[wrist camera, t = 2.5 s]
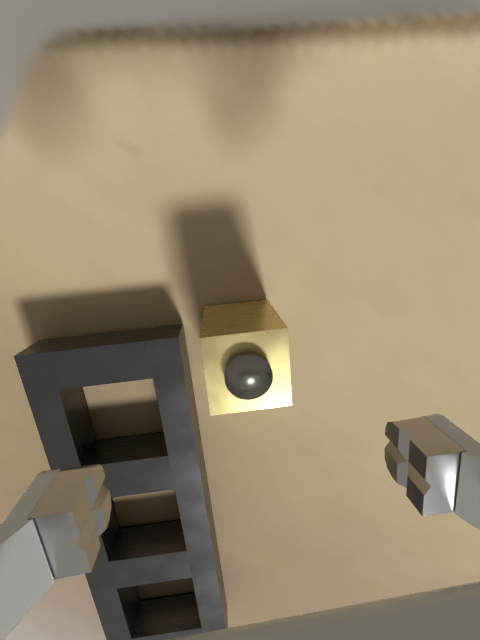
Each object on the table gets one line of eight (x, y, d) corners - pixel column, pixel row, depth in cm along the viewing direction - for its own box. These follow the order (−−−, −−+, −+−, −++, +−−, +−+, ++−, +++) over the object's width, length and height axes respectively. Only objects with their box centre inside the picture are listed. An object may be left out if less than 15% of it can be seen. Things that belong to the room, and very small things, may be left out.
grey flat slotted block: (183, 324, 20) (178, 337, 17) (227, 607, 27) (228, 643, 25) (38, 340, 19) (13, 356, 17) (123, 623, 27) (113, 661, 24)
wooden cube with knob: (267, 299, 20) (290, 331, 14) (271, 357, 21) (294, 411, 15) (204, 306, 20) (198, 342, 13) (212, 364, 21) (210, 421, 15)
